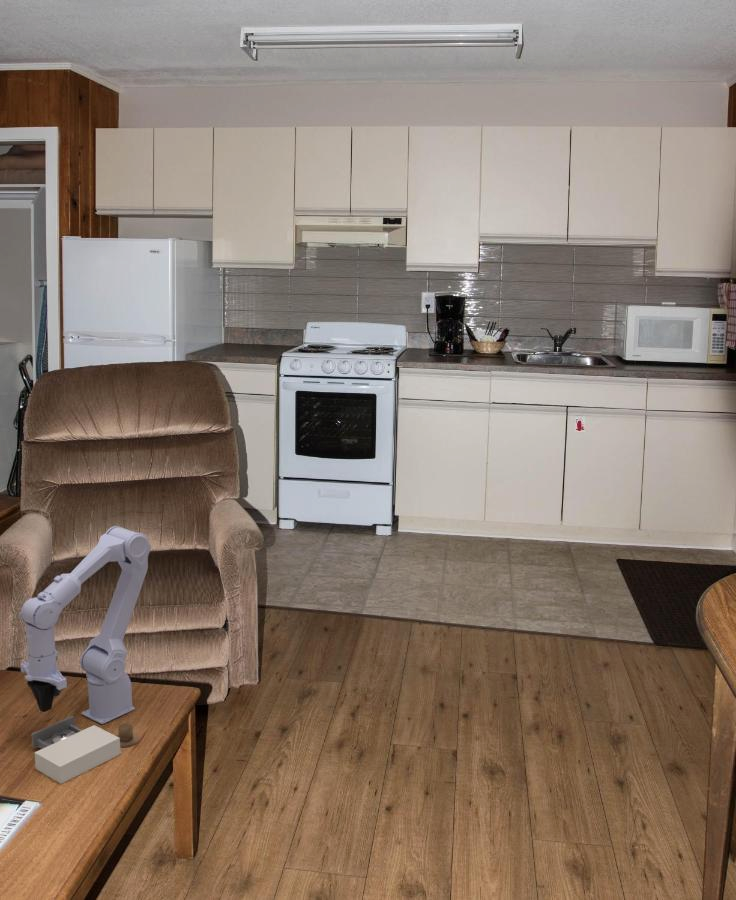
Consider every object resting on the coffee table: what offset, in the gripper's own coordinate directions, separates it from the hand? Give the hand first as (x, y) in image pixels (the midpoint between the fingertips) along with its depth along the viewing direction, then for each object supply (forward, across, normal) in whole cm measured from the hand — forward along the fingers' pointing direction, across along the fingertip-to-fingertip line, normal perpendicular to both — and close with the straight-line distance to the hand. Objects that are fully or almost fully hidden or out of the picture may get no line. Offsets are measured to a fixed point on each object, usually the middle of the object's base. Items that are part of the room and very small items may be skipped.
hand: (45, 709), depth 210 cm
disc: (+6, +6, 0) cm, 8 cm away
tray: (+6, +7, 0) cm, 9 cm away
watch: (+7, -19, +13) cm, 24 cm away
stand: (+7, +15, +10) cm, 19 cm away
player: (+7, +14, -2) cm, 15 cm away
